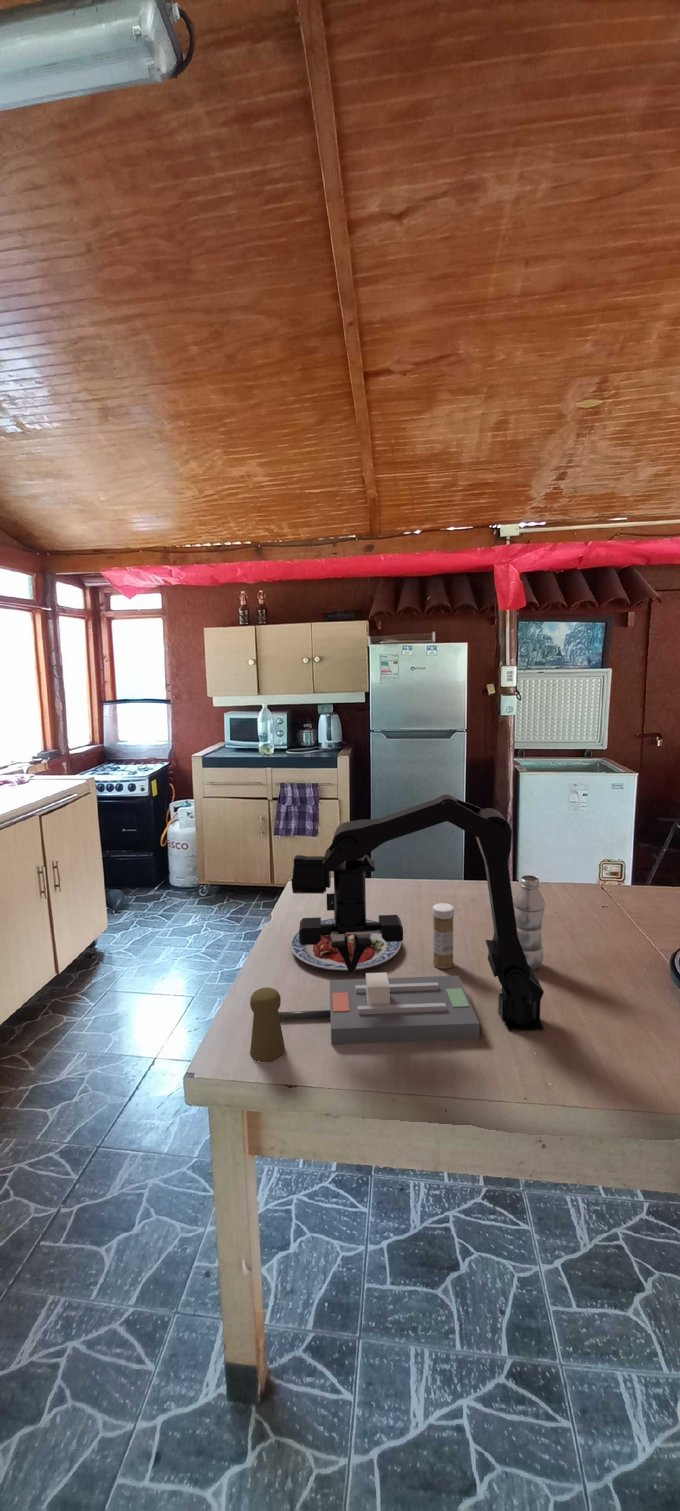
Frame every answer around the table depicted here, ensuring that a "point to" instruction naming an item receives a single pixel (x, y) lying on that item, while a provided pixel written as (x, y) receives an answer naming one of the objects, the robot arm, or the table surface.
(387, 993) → the switch knob
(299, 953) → the ceramic plate
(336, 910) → the robot arm
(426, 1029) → the slider switch base
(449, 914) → the sprinkles bottle
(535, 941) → the plastic bottle
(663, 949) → the table surface
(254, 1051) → the olive peg pawn
